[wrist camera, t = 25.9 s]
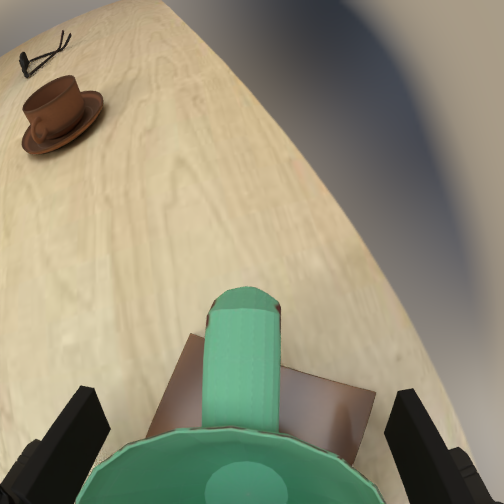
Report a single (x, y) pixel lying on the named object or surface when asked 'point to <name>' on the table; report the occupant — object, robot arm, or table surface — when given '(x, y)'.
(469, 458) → the robot arm
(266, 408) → the mug
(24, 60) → the sunglasses
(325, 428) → the brown pad
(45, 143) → the cup and saucer
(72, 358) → the table surface
